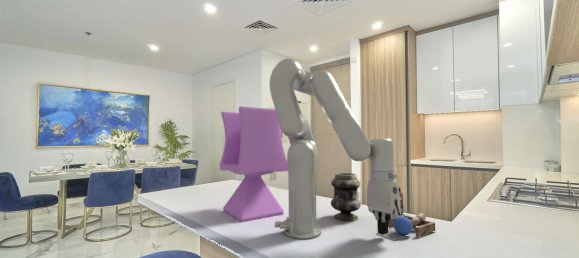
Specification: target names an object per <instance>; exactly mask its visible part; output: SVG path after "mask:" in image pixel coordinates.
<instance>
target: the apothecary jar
mask: <svg viewBox="0 0 579 258" xmlns="http://www.w3.org/2000/svg"><path fill="white" fill-rule="evenodd" d="M330 183H331V186H332V187H333V198H332V199H331V201H330V205H331V207H332V208H333V209H334V210H336V211H338V212H337V213H336V214H334V215H333V219H335V220H338V221H343V222H353V221H357V220H358V219H359V217H358V215H355V214H354V213H353V212H355V211H358V210H359V209H360V208H361V206H362V204H361V201H360V200H359V198H358V195H359V194H358V191H359V190H358V189H359V188H360V187H361V182H360V180H359V179H358V177H357V174H355V173H352V172H336V173H335V174H334V178H333V179H331V182H330Z"/></svg>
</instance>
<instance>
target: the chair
mask: <svg viewBox="0 0 579 258" xmlns="http://www.w3.org/2000/svg"><path fill="white" fill-rule="evenodd" d="M220 114H221V118H222V119H221V120H222V124H223V127H224V136H225V137H224V147H223V152H222V156H221V159H220V162H219V170H220V171H223V172H224V171H228V172H232V173H234V174H236V175H239V176H244V178H243V179H242V181H241V182H240V183H239V185H238V187H237V188H236V189H235V191H234V192H233V194H232V195H231V196H230V198H229V199H228V200H227V202H226V203H225V204H224V206H223V210H222V211H223V213H225V214H227V215H228V216H230V217H232V218H233V219H235V220H237V221H238V222H240V223H246V222H250V221H251V222H252V221H254V220H255V221H256V220H261V219H266V218H271V217H277V216H282V215H284V214H285V213H284V209H283V207H282V206H281V205H280V203H279V202H278V200H277V199H276V198H275V196H274V194H273V193H272V191H271V190H270V188H269V187H268V186H267V184H266V182H265V181H264V180H263V179H262V176H265V175H268V174H273V173H275V172H276V173H281V172H288V163H287V155H286V154H285V150H284V146H283V139H282V137H283V136H282V130H281V128H280V124H279V120H278V117H277V114H276V111H275V108H264V107H251V106H239V107H238V112H237V111H236V112H235V111H221V113H220Z"/></svg>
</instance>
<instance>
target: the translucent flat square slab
mask: <svg viewBox="0 0 579 258" xmlns="http://www.w3.org/2000/svg"><path fill="white" fill-rule="evenodd" d="M375 234H376V235H377V236H380V237H383V238H385V239H388V238H389V239H388V240H392V241H398V240H401V239H404V238H406V237H405V236H406V235H401V234H399V233H397V232H396V231H395V229H392V228H389V229H388V233H387V234H384V235H382V234H379V233H378V232H376V233H375ZM403 237H404V238H403Z"/></svg>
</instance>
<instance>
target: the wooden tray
mask: <svg viewBox="0 0 579 258" xmlns="http://www.w3.org/2000/svg"><path fill="white" fill-rule="evenodd" d="M399 216H404V217H407V218H408V219H409V220H411V219H413V218H414V217H415V216H410V215H406V214H402V215H399ZM394 219H395V218H391V219H390V221H388V227H389V228H388V229H391V228H394V227H393V221H394ZM416 226H418V227H414V228H415V237H416V236H418V237H417V238H420V237H419V236H422V235H424V236H426V235H425V234H427V233H430V232H433V231H435V232H436V223H435V222H434V221H430V220H426V219H425V220H423V221H422V222H421V223H419V224H418V225H416ZM390 227H391V228H390ZM433 233H434V232H433ZM430 234H431V233H430ZM427 235H428V234H427ZM422 237H423V236H422Z"/></svg>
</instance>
